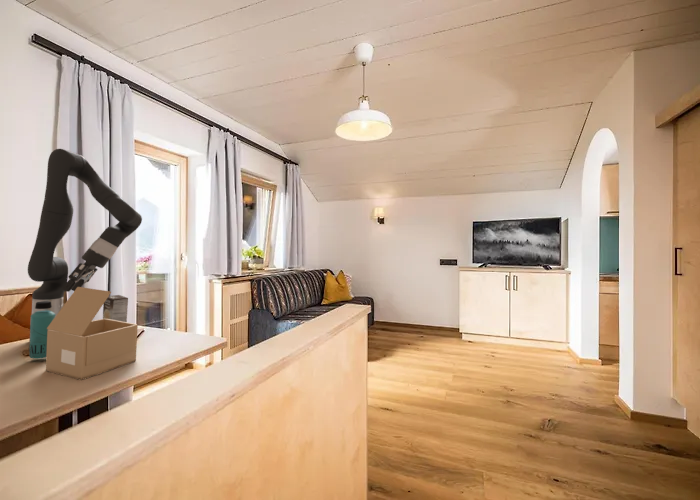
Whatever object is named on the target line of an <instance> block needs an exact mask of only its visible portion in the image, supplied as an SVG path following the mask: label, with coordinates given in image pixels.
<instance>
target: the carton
mask: <svg viewBox="0 0 700 500" xmlns="http://www.w3.org/2000/svg"><path fill="white" fill-rule="evenodd" d="M137 341H138V324H137V323H132V322H128V321H127V322H122V321H117V320H111V319H103V318H100V319H93V320H92V321H91V323H90V324H89V326H88V327H87V329H86V330H85V332H84V333H83V335H82V336H77V335H73V334H68V333H63V332H58V331H53V330H48V331H47V355H46V357H45V358H46V362H45V363H46V364H45V371H46V372H48V373H49V372H50V373H52V374H53V373H54V374H57V375H62V376H64V377H67V378H68V377H69V378H72V379H76V380H79V379H80V380H79V381H82V380H85V378H86V379H89V378H92V377H94V375H95V376H97V374H98V375H100V373H101V374H103V373H105V372H109V371H112V370H114V369H118V368H121V367H124V366H126V365H129V364H132V363H135V362H137V344H138V342H137ZM91 376H92V377H91ZM88 377H89V378H88Z"/></svg>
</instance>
